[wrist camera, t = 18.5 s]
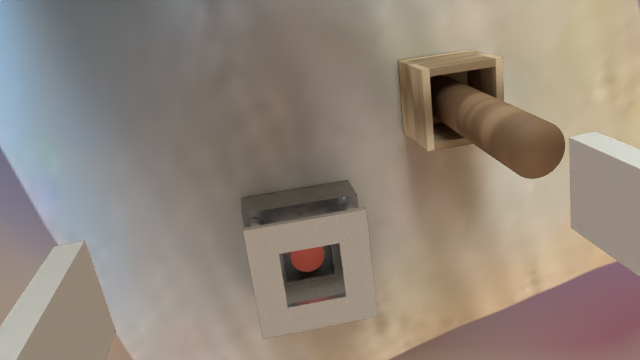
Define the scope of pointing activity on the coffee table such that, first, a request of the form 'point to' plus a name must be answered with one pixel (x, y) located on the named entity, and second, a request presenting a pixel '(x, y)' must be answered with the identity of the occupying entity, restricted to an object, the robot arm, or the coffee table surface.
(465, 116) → the brown wooden rod
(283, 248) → the grey button box
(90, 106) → the coffee table surface
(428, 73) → the pen cup
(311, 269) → the breaker button
